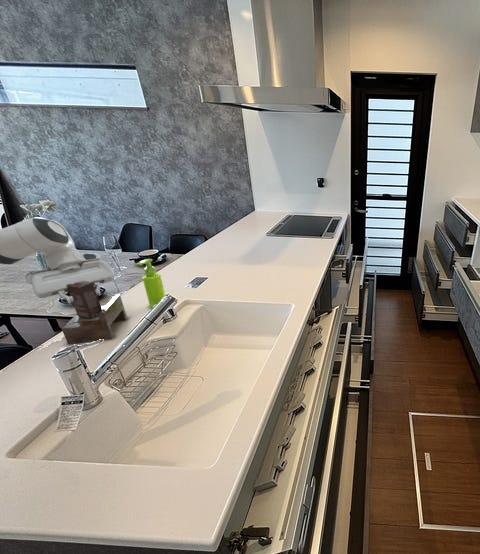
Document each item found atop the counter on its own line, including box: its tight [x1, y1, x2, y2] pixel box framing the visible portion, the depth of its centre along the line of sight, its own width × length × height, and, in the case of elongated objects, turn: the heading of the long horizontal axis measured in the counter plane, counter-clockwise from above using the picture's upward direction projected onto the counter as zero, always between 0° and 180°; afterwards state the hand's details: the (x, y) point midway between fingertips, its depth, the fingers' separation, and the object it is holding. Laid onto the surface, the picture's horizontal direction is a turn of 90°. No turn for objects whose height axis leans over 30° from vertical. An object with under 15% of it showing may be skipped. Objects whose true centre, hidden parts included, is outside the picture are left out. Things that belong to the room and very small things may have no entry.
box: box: [66, 281, 102, 319], centre depth 102 cm, size 6×4×12 cm
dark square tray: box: [61, 294, 128, 345], centre depth 105 cm, size 12×14×10 cm
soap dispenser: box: [136, 258, 166, 309], centre depth 121 cm, size 6×7×20 cm
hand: (85, 298), depth 101 cm, fingers closed on box, 5 cm apart
